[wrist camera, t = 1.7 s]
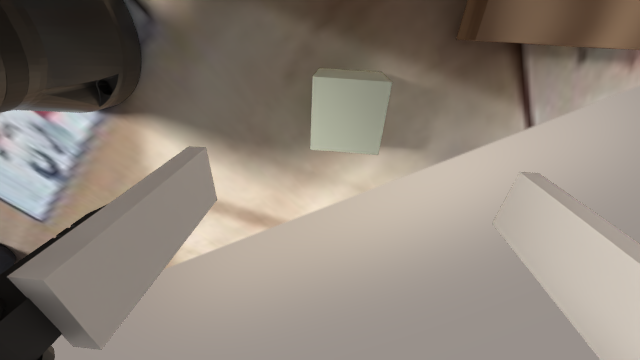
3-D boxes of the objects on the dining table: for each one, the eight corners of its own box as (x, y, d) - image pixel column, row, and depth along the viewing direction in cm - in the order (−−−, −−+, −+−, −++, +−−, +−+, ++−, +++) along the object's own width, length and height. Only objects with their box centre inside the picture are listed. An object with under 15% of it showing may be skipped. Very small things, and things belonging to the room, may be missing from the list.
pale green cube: (316, 127, 27) (310, 149, 21) (319, 67, 23) (312, 76, 18) (371, 131, 26) (378, 154, 21) (381, 71, 23) (392, 81, 18)
